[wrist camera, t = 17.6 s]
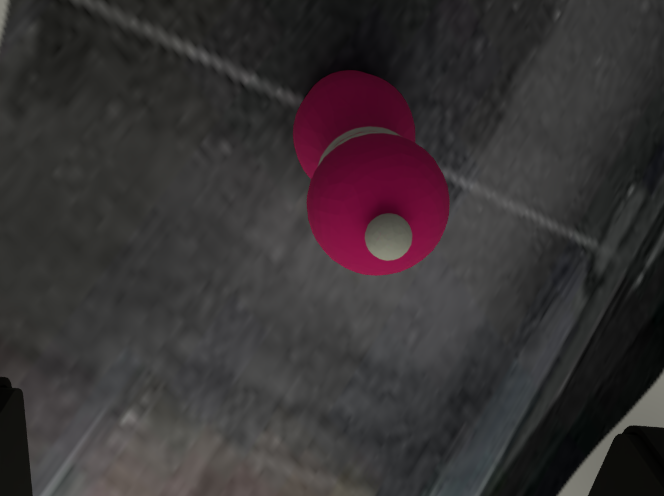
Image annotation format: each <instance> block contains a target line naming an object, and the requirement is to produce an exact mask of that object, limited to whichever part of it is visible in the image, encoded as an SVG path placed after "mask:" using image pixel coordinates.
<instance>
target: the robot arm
mask: <svg viewBox="0 0 664 496" xmlns="http://www.w3.org/2000/svg"><path fill="white" fill-rule="evenodd" d="M0 496H33V495H32V484H31V473H30V463H29V452H28V441H27V431H26V420H25V409H24V399H23V393H22V390H21V389H19V388H12V386H11V382H10V380H9V379H8V378H6V377H0ZM588 496H664V428H659V427H647V426H629V427H627V428H626V429H625V430H624V432H623V433H622V434H618V435H617V436H616V437H615V438H614V440H613V442H612V444H611V446H610V449H609V451H608V453H607V455H606V457H605V459H604V462H603V464H602V466H601V468H600V470H599V473H598V475H597V477H596V479H595V481H594V484H593V486H592V488H591V490H590V492H589V495H588Z"/></svg>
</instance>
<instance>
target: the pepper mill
mask: <svg viewBox="0 0 664 496" xmlns="http://www.w3.org/2000/svg"><path fill="white" fill-rule="evenodd" d="M293 140H294V146H295V150H296V153H297V156H298V159H299V162H300V164H301V166H302V168H303V169H304V171H305V172H306V174H307V175H308V176H309V177H310V178H311V182H310V186H309V190H308V195H307V211H308V220H309V223H310V226H311V229H312V232H313V234H314V236H315V238H316V240H317V242H318V243H319V244H320V246H321V247H322V249H323V250H324V251H325V252H326V253H327V254H328V255H329V256H330V257H331V258H332V260H334V261H335V262H337V263H339V264H340V265H342V266H343V267H345V268H347V269H349V270H352V271H354V272H357V273H360V274H365V275H376V276H377V275H388V274H393V273H397V272H401V271H403V270H405V269H408V268H410V267H412V266H414V265H415V264H417V263H418V262H420V261H421V260H423V259H424V258H425V257H426V256H427V255H428V254H429V253H430V252H432V251H433V249H434V248H435V246H436V245H437V244H438V242H439V241H440V239H441V236H442V234H443V232H444V230H445V227H446V224H447V220H448V216H449V193H448V187H447V184H446V181H445V178H444V175H443V173H442V172H441V170H440V168H439V167H438V165H437V163H436V161H435V160H434V158H433V157H432V156H431V155H430V154H429V153H428V152H427V151H426V150H425V149H423V148H422V147H420V146H419V145H417V144H416V143H415V125H414V121H413V117H412V114H411V111H410V109H409V106H408V104H407V102H406V101H405V99H404V98H403V96H402V95H401V93H400V92H399V91H398V90H397V89H396V88H395V87H394V86H392V85H391V84H390V83H388V82H387V81H385V80H383V79H381V78H379V77H377V76H374V75H371V74H367V73H364V72H361V71H355V70H345V71H338V72H335V73H332V74H329V75H328V76H326V77H324V78H322V79H321V80H320V81H318V82H317V83H316V84H315V85H314V86H313V87H312V89H311V90H310V91H309V93H308V94H307V96H306V97H305V99H304V100H303V102H302V103H301V105H300V107H299V109H298V111H297V114H296V118H295V122H294V127H293Z"/></svg>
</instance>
